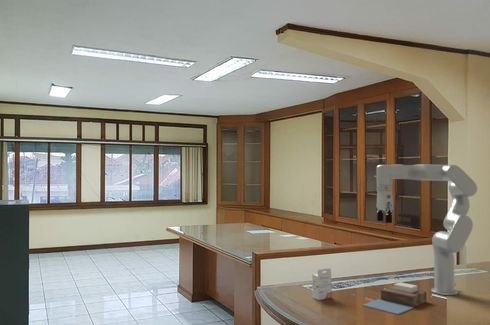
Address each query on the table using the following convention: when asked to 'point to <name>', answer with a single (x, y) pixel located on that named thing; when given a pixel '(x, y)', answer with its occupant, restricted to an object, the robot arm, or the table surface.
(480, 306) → the table surface
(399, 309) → the mat
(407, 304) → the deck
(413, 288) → the block
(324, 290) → the ink cartridge box
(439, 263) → the robot arm
